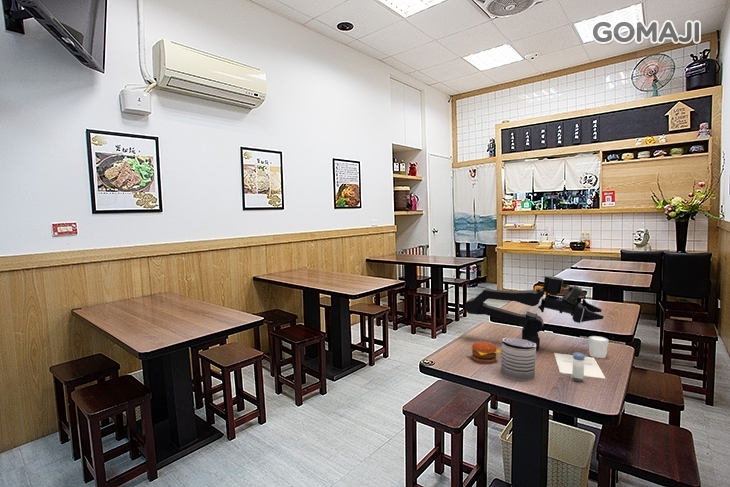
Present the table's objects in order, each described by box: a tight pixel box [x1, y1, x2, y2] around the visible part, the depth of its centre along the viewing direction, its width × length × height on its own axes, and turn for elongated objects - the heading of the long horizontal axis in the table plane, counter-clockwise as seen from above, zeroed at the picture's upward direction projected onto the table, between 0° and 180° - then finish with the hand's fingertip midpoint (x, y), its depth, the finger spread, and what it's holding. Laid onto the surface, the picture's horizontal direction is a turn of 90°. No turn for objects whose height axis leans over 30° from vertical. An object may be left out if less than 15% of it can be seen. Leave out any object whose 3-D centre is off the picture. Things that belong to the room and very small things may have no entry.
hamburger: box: [468, 340, 502, 365], centre depth 150 cm, size 9×10×7 cm
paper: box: [553, 352, 607, 380], centre depth 144 cm, size 14×20×1 cm
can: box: [500, 337, 537, 382], centre depth 136 cm, size 11×11×12 cm
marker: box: [571, 351, 586, 383], centre depth 131 cm, size 3×3×9 cm
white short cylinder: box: [588, 335, 610, 359], centre depth 153 cm, size 7×7×7 cm
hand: (602, 314), depth 149 cm, fingers open, 9 cm apart
